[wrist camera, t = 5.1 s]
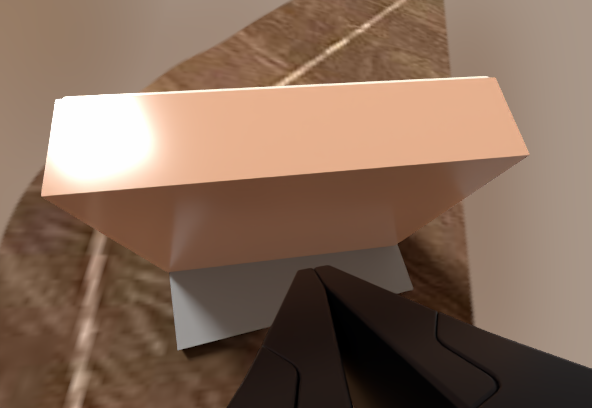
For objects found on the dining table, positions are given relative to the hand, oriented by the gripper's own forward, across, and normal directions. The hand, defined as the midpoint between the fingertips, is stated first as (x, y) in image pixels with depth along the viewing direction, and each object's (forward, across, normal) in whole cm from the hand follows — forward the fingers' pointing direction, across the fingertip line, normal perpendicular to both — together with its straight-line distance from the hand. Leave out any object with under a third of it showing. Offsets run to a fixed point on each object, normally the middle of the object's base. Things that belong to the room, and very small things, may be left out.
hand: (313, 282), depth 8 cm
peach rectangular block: (+7, 0, -3) cm, 8 cm away
